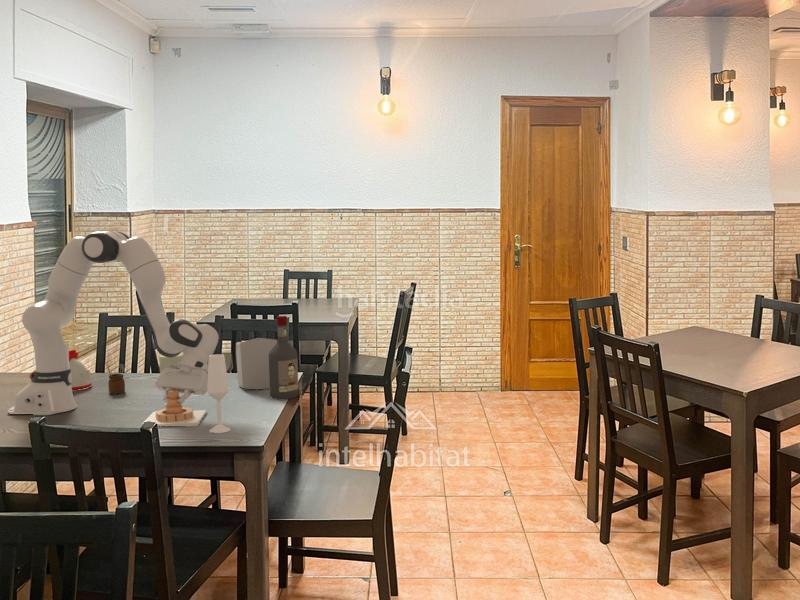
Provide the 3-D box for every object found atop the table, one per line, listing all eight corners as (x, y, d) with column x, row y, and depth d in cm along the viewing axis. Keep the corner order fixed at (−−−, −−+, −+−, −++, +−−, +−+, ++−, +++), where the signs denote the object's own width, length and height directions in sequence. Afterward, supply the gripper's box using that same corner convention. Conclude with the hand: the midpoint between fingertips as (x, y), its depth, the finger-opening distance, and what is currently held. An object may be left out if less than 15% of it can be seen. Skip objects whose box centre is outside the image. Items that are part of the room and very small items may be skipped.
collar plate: (141, 427, 288) (140, 418, 288) (153, 414, 306) (153, 405, 306) (197, 426, 289) (197, 417, 289) (206, 412, 307) (206, 404, 307)
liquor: (266, 397, 330) (264, 316, 327) (286, 392, 337) (283, 314, 333) (282, 400, 324) (280, 318, 320) (301, 396, 330) (299, 315, 327)
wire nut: (164, 416, 295) (163, 392, 294) (168, 412, 300) (167, 389, 299) (180, 416, 295) (179, 392, 294) (183, 412, 300) (182, 389, 299)
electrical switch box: (272, 386, 359) (269, 336, 360) (280, 387, 345) (277, 336, 346) (236, 389, 354) (232, 339, 355) (243, 391, 340) (239, 339, 341)
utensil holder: (125, 393, 340) (123, 362, 338) (107, 395, 338) (106, 364, 337) (125, 390, 346) (123, 360, 344) (108, 392, 344) (106, 361, 342)
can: (188, 382, 359) (187, 353, 358) (171, 386, 351) (170, 356, 350) (172, 380, 364) (171, 351, 363) (155, 384, 356) (153, 354, 355)
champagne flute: (211, 427, 287) (208, 353, 284) (232, 427, 287) (229, 353, 284) (206, 433, 281) (203, 357, 278) (227, 432, 280) (224, 357, 278)
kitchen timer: (98, 384, 358) (96, 347, 357) (80, 392, 345) (78, 353, 343) (66, 384, 361) (64, 347, 359) (47, 391, 347) (45, 353, 346)
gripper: (162, 360, 307) (143, 393, 299) (209, 364, 297) (191, 399, 290) (171, 370, 311) (153, 404, 303) (218, 375, 302) (201, 409, 294)
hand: (172, 401), depth 297 cm, fingers open, 4 cm apart
